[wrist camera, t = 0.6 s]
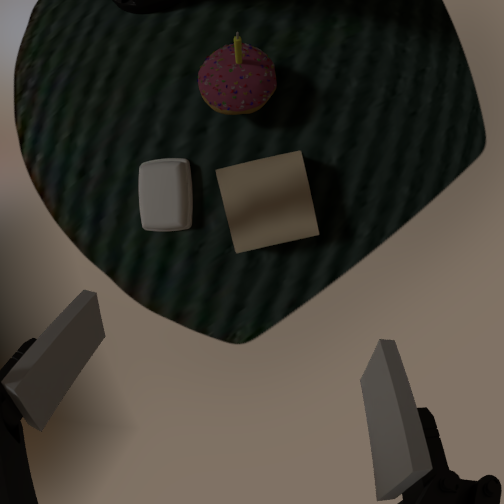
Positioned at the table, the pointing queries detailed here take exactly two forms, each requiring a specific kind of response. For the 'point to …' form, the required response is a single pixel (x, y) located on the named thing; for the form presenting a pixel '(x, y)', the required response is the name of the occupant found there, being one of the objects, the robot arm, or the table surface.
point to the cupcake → (237, 79)
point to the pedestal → (268, 201)
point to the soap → (166, 194)
